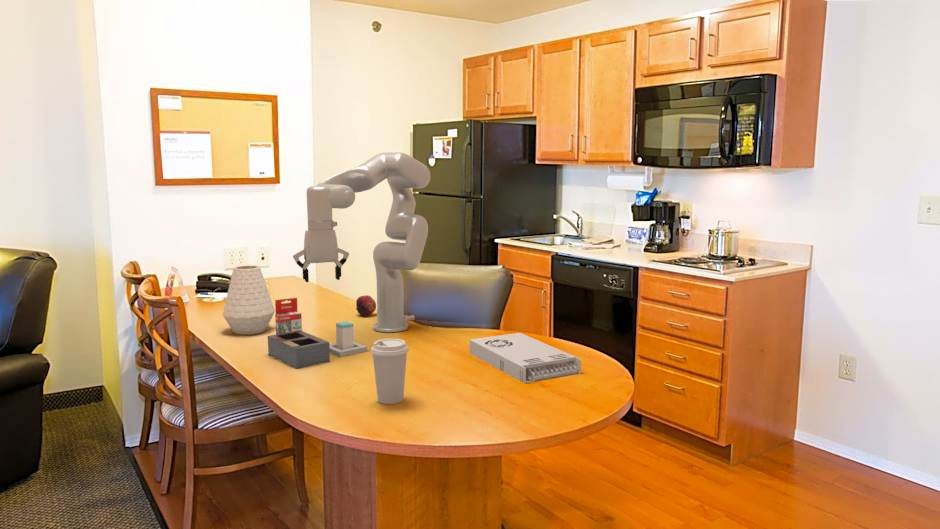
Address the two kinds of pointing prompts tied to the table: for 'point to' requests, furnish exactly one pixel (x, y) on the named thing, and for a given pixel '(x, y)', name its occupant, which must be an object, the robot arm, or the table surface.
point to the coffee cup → (390, 369)
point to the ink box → (287, 316)
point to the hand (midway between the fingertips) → (322, 280)
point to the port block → (298, 349)
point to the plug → (345, 335)
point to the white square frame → (357, 349)
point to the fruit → (365, 305)
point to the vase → (248, 301)
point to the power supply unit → (524, 357)
